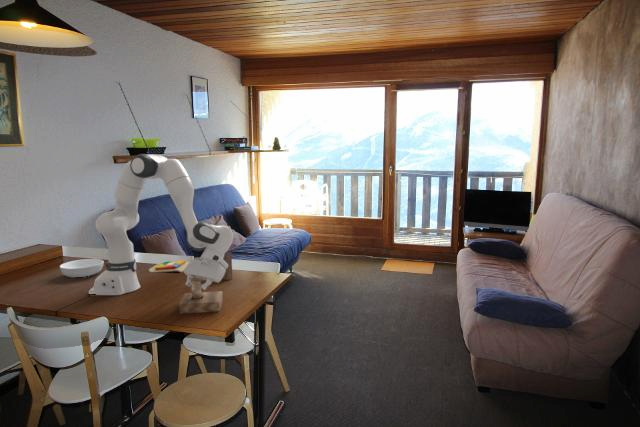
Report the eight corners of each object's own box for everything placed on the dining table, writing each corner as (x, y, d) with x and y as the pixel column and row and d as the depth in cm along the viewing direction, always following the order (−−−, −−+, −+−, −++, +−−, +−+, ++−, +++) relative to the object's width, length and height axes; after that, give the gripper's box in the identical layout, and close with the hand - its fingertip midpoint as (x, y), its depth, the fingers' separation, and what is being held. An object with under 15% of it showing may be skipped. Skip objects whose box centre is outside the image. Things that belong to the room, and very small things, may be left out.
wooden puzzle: (162, 264, 258) (162, 258, 258) (193, 265, 256) (193, 259, 256) (148, 273, 241) (147, 267, 241) (180, 273, 239) (180, 267, 239)
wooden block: (227, 280, 224) (226, 245, 221) (212, 277, 229) (211, 243, 227) (232, 278, 227) (231, 244, 224) (218, 275, 232) (216, 242, 230)
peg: (192, 308, 185) (190, 283, 183) (193, 305, 189) (191, 280, 187) (201, 308, 185) (200, 283, 184) (202, 304, 189) (201, 280, 187)
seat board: (179, 313, 179) (179, 304, 179) (185, 301, 193) (185, 293, 192) (219, 311, 181) (219, 302, 181) (222, 299, 195) (222, 291, 194)
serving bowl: (99, 279, 230) (98, 266, 229) (55, 283, 225) (53, 270, 224) (108, 268, 250) (107, 257, 249) (67, 272, 245) (66, 260, 244)
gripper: (190, 252, 195) (174, 279, 188) (223, 258, 184) (207, 287, 177) (198, 260, 199) (182, 286, 193) (231, 266, 188) (216, 294, 182)
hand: (194, 287), depth 185 cm, fingers open, 8 cm apart
